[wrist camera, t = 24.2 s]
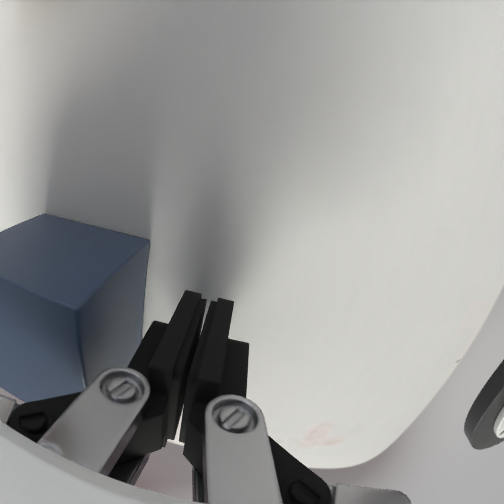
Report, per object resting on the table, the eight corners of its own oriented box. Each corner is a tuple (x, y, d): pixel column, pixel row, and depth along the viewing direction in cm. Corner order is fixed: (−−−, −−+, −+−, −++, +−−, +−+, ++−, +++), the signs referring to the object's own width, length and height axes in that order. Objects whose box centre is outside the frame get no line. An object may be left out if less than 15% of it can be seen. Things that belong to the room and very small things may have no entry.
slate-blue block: (151, 239, 10) (77, 308, 5) (141, 349, 12) (97, 438, 7) (43, 212, 10) (-47, 253, 5) (48, 316, 11) (-13, 379, 7)
